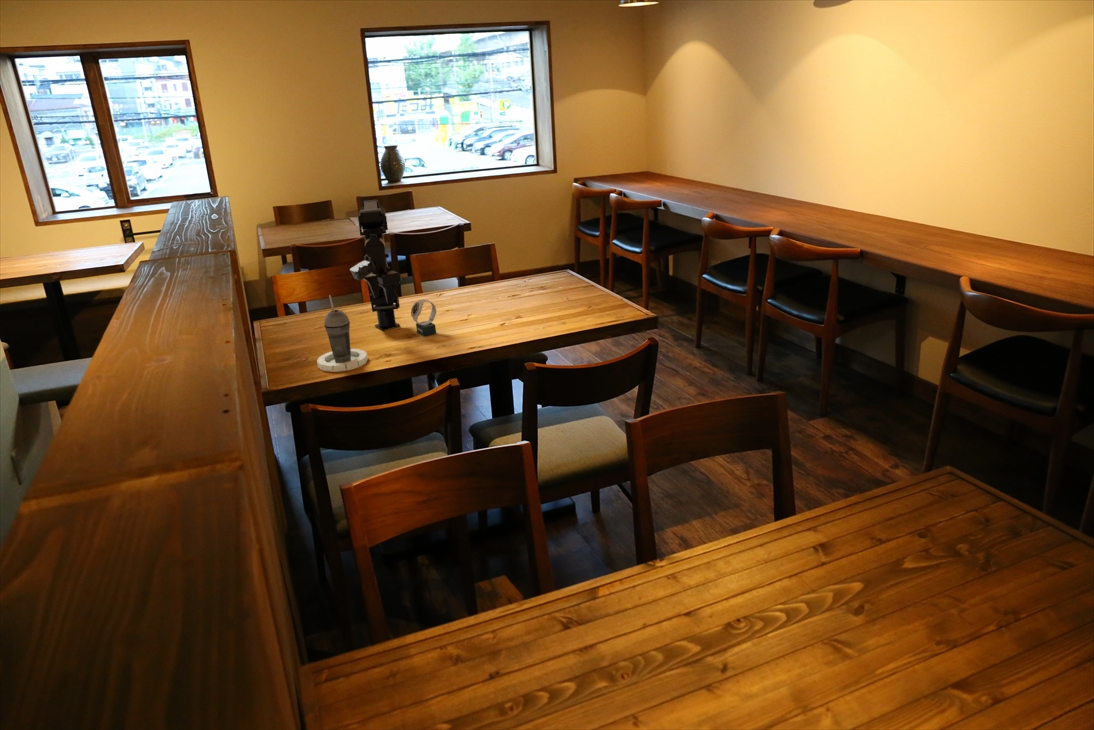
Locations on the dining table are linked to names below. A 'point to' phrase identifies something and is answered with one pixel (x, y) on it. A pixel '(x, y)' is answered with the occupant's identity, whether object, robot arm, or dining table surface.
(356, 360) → the ring tray
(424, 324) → the watch
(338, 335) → the beverage cup
